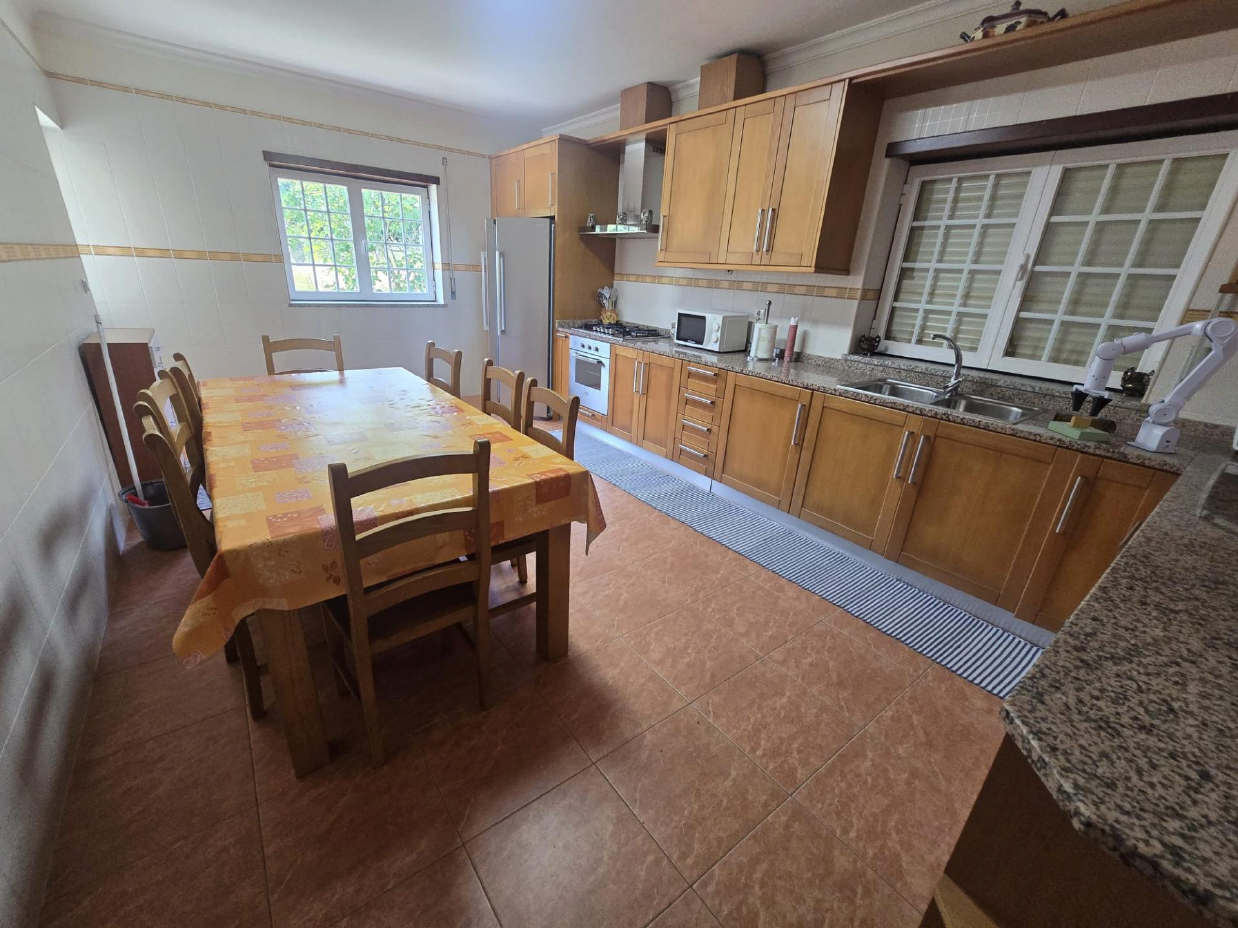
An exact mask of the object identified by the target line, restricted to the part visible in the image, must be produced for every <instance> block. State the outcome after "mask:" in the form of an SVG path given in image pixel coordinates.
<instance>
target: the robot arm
mask: <svg viewBox="0 0 1238 928" xmlns="http://www.w3.org/2000/svg"><path fill="white" fill-rule="evenodd" d="M1185 336H1198V337H1199V336H1200V337H1205V338H1206V339H1207V340H1208V341H1209V345H1210V347H1211V351H1210V352H1209V353H1208V354H1207V355H1206V357H1204V358H1202V360H1201V361H1200V362H1199V363H1198V365H1197V366H1196V367H1194V368H1193V369H1192V370H1191V372H1190V373H1188V374H1187V375H1186V376H1185V378H1183V380H1182V381H1180V383H1178V384H1177V385H1176V386H1175V388H1174V389H1173V390H1171V391H1170V392H1169V393H1168V394H1167V395H1165V396H1164V397H1163V398H1162V399H1160V401H1157V402H1155V403H1153V404H1151V405H1150V406H1149V407H1148V410H1147V413H1148V415H1149V416H1148V417H1146V418H1144V419H1143V422H1142V424H1141V426H1140V428H1139V431H1138V433H1137V435H1136V438H1135V440H1134V441H1126V444H1127V445H1131V446H1133V447H1136V448H1140V449H1143V450H1146V451H1148V452H1155V453H1170V454H1175V450H1174V449H1175V447H1176V445H1177V443H1178V441H1179V439H1180V436H1181V431H1180V429H1178V428H1176V427H1175V426H1174V425H1175V423H1174V422H1175V421H1177V419H1178V418H1179V416H1180V412H1181V411H1182V409H1184V407H1185V406H1186V404H1187V403H1188V401H1189V400H1190V399H1191V398H1192V397H1193V396H1194V395H1195V394H1196V393H1197V392H1198V391H1199V390H1200V389H1201V388H1202V387H1204V385H1205V384H1206V383H1207V382H1208V381H1210V380H1211V379H1212V377H1214V376H1215V374H1217V373H1218V372H1219V370H1221V369H1222V368H1223V367H1224V366H1225V365H1226V364H1227V363H1228V362H1229V360H1231V359H1232V358H1233V357H1234V356H1235V355H1236V354H1237V352H1238V322H1237V321H1236V320H1235V319H1233V318H1230V317H1213V318H1209V319H1203V320H1198V321H1193V322H1192V321H1191V322H1188V323H1184V324H1181V325H1177V326H1175V327H1172V328H1168V329H1164V330H1162V331H1158V332H1154V333H1151V334H1150V333H1148V332H1138V331H1137V332H1134V333H1133V334H1132V335H1130V336H1126V337H1121V338H1114V339H1113V341H1105V342H1103V343H1101V344H1100V345H1099V346H1098V347H1097V348H1096V351H1095V352H1096V355H1095V357H1094V359H1093V362H1092V363H1091V366H1090V369H1089V371H1088V373H1087V377H1086V379H1085V381H1084V385H1081V384H1074V385H1073V387H1072V391H1070V394H1069V395H1070V396H1071V401H1072V407H1071V412H1080V411H1081V409H1082V407H1083V405H1084V403H1085V401H1086V400H1087V398H1088V397H1089V396H1090V395H1091V400H1092V401H1091V402H1092V403H1091V408H1090V410H1089V417H1090V418H1093V417H1094V418H1096V417H1097V418H1098V416H1099V414H1100V413H1101V412H1102V411H1103V410H1104V409H1105V407H1106V406H1107V405H1109V404H1110V403H1111V402H1113V398H1114V396H1115V393H1114V392H1112V391H1108V390H1106V387H1107V384H1108V382H1109V379H1110V377H1111V375H1112V372H1113V369H1114V367H1115V361H1116V359H1117V358H1118V357H1120V355H1122V356H1125V355H1129V354H1134V353H1138V352H1141V351H1145V350H1148V349H1150V348H1151V347H1152V345H1154V344H1157V343H1160V342H1165V341H1168V340H1173V339H1177V338H1181V337H1185Z"/></svg>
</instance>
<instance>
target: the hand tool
mask: <svg viewBox="0 0 1238 928" xmlns="http://www.w3.org/2000/svg"><path fill="white" fill-rule="evenodd" d="M1073 416H1075V415H1073V414H1070V413H1062V412H1059V411H1056V412H1055V413H1054V415H1053V417H1052V418H1053V419H1052V421H1057V422H1071V419H1072V417H1073ZM1076 416H1077V415H1076ZM1077 417H1079V416H1077ZM1091 419H1092V420H1091V423H1090V425H1089V427H1093V428H1094V429H1097V430H1100V431H1103V432H1112V433H1115V432H1116V431H1117V427H1118V426H1117V423H1116V421H1115V420H1113V419H1108V418H1104V417H1103V418H1101V417H1097V418H1091Z"/></svg>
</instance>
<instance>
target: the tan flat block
mask: <svg viewBox="0 0 1238 928" xmlns="http://www.w3.org/2000/svg"><path fill="white" fill-rule="evenodd" d="M1092 419H1093V418H1092V417H1084V416H1078V417H1077V415H1074V416H1073V417H1072V419H1071V422H1070V425H1069V426H1071V427H1083V428H1089V427H1090V426H1089V425H1090V423H1091V420H1092Z"/></svg>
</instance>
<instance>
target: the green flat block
mask: <svg viewBox="0 0 1238 928" xmlns="http://www.w3.org/2000/svg"><path fill="white" fill-rule="evenodd" d="M1069 425H1070V422H1062V421H1053V420H1050V421H1049V423H1048V425H1047V430H1051V431H1053V432H1055V433H1058V434H1061V435H1063V436H1067V437H1070V438H1072V439H1075V440H1079V441H1081V440H1082V441H1095V442H1107V439H1108V437H1109V435H1110V433H1109V432H1107V431H1102V430H1097V429H1094V428H1093V427H1090V426H1089V428H1083V427H1071V426H1069Z"/></svg>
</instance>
